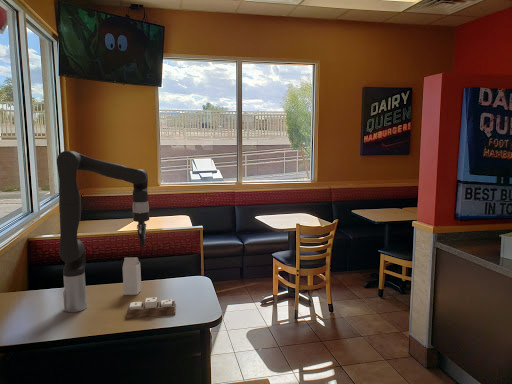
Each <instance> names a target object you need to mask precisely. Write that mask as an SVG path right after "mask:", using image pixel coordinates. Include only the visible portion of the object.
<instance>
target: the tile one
mask: <svg viewBox="0 0 512 384" xmlns="http://www.w3.org/2000/svg"><path fill="white" fill-rule="evenodd" d="M142 303H143V301H133V302H132V301H131V302H130V303H129V304H130V306H129V309H130V310H134V309H142Z"/></svg>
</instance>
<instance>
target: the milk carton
mask: <svg viewBox="0 0 512 384" xmlns="http://www.w3.org/2000/svg"><path fill="white" fill-rule="evenodd" d="M121 269H122V282H123V284H122V285H123V295H125V296H134V295H135V296H137V295H139V294H140V292H141V291H142V275H141V271H142V270H141V261H139V257H124V261H123V264H122V268H121Z"/></svg>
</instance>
